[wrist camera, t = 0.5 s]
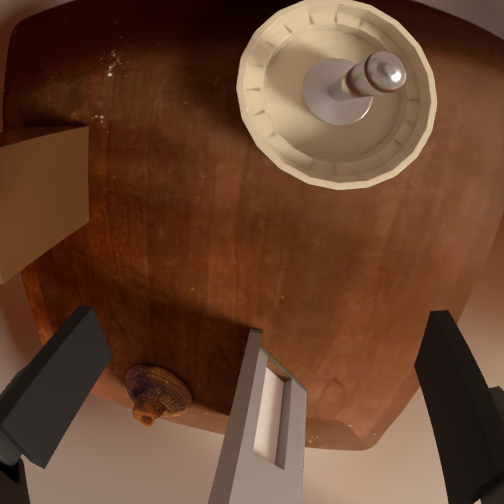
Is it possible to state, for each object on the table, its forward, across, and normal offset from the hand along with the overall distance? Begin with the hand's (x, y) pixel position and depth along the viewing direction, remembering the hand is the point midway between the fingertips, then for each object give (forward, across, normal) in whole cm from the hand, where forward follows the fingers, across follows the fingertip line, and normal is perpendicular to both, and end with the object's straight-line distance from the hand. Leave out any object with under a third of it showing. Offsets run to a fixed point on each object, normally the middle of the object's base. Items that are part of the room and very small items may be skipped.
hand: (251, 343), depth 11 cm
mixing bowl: (+23, +5, +9) cm, 25 cm away
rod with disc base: (+22, +5, +9) cm, 24 cm away
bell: (+23, -21, -32) cm, 45 cm away
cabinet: (+23, -2, -29) cm, 37 cm away
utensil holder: (+23, -28, +5) cm, 37 cm away
